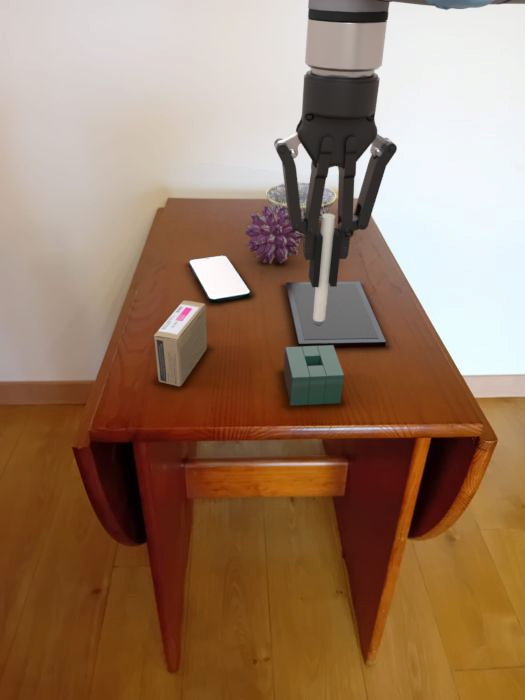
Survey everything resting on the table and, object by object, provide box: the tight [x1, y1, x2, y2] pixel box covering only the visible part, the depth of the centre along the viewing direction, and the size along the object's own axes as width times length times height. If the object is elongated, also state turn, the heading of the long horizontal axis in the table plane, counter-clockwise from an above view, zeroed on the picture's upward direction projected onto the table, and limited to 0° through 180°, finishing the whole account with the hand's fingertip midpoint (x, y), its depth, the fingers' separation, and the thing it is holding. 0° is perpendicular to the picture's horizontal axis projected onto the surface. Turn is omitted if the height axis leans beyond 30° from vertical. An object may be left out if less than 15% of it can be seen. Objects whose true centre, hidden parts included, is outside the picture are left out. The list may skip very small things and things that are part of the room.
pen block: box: [283, 345, 345, 407], centre depth 76 cm, size 7×7×5 cm
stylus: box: [313, 212, 336, 326], centre depth 66 cm, size 2×2×15 cm
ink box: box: [153, 300, 208, 388], centre depth 79 cm, size 10×4×8 cm, turn 162°
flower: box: [244, 204, 304, 264], centre depth 107 cm, size 12×12×12 cm
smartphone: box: [188, 255, 251, 304], centre depth 102 cm, size 8×1×16 cm
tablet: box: [285, 281, 387, 349], centre depth 93 cm, size 20×14×1 cm
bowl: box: [265, 181, 338, 223], centre depth 123 cm, size 16×16×8 cm
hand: (322, 281), depth 67 cm, fingers closed on stylus, 1 cm apart
